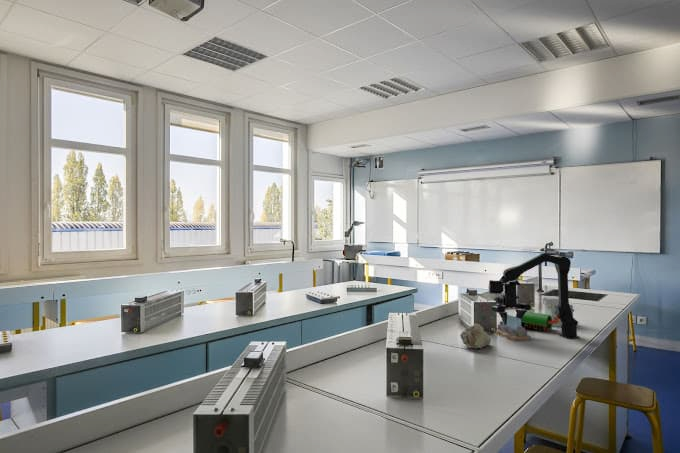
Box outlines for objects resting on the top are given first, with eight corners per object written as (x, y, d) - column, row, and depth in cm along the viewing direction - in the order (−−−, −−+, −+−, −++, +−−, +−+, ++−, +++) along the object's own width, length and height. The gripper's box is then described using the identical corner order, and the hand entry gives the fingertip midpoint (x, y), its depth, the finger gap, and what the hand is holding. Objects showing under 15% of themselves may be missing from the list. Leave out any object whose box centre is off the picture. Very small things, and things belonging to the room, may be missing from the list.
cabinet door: (521, 335, 199) (520, 318, 199) (515, 335, 198) (515, 319, 198) (506, 329, 211) (506, 314, 211) (501, 329, 210) (500, 314, 210)
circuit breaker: (576, 325, 220) (575, 298, 220) (550, 326, 220) (549, 298, 221) (569, 322, 228) (568, 295, 228) (543, 323, 228) (542, 296, 228)
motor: (514, 327, 218) (554, 333, 204) (515, 310, 219) (555, 315, 205) (521, 326, 225) (561, 332, 211) (522, 310, 226) (561, 315, 212)
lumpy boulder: (498, 351, 184) (477, 345, 177) (478, 354, 193) (457, 349, 185) (495, 326, 190) (474, 319, 183) (475, 331, 198) (455, 324, 191)
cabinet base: (530, 339, 196) (530, 327, 197) (512, 341, 194) (512, 329, 195) (506, 329, 216) (505, 319, 216) (489, 331, 214) (488, 320, 214)
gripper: (516, 290, 215) (518, 319, 214) (485, 292, 211) (486, 322, 211) (530, 293, 204) (532, 324, 203) (497, 295, 200) (498, 327, 200)
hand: (511, 324), depth 205 cm, fingers open, 7 cm apart
